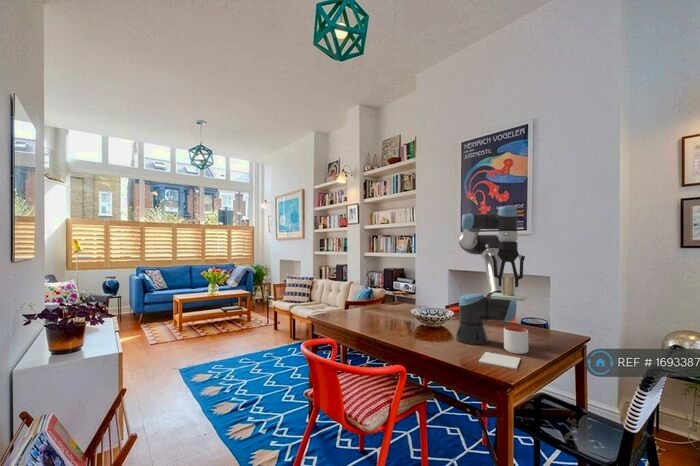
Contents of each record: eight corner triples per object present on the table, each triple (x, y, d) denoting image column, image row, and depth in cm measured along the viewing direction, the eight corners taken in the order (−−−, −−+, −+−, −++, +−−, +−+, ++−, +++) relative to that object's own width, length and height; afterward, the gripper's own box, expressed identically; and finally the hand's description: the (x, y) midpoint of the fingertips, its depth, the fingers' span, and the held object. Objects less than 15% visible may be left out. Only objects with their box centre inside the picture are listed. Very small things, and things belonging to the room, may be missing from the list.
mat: (478, 362, 134) (478, 360, 134) (485, 353, 146) (485, 351, 146) (516, 369, 126) (516, 368, 126) (520, 359, 138) (520, 358, 138)
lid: (490, 298, 141) (490, 277, 141) (494, 295, 152) (494, 275, 152) (524, 301, 134) (524, 278, 135) (526, 297, 145) (525, 276, 146)
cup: (499, 348, 153) (499, 326, 154) (519, 347, 154) (519, 326, 155) (511, 355, 143) (511, 332, 144) (533, 354, 144) (533, 332, 145)
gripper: (486, 240, 145) (486, 293, 144) (529, 240, 137) (530, 296, 135) (488, 241, 152) (488, 291, 151) (530, 241, 143) (530, 294, 142)
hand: (508, 294), depth 143 cm, fingers closed on lid, 4 cm apart
